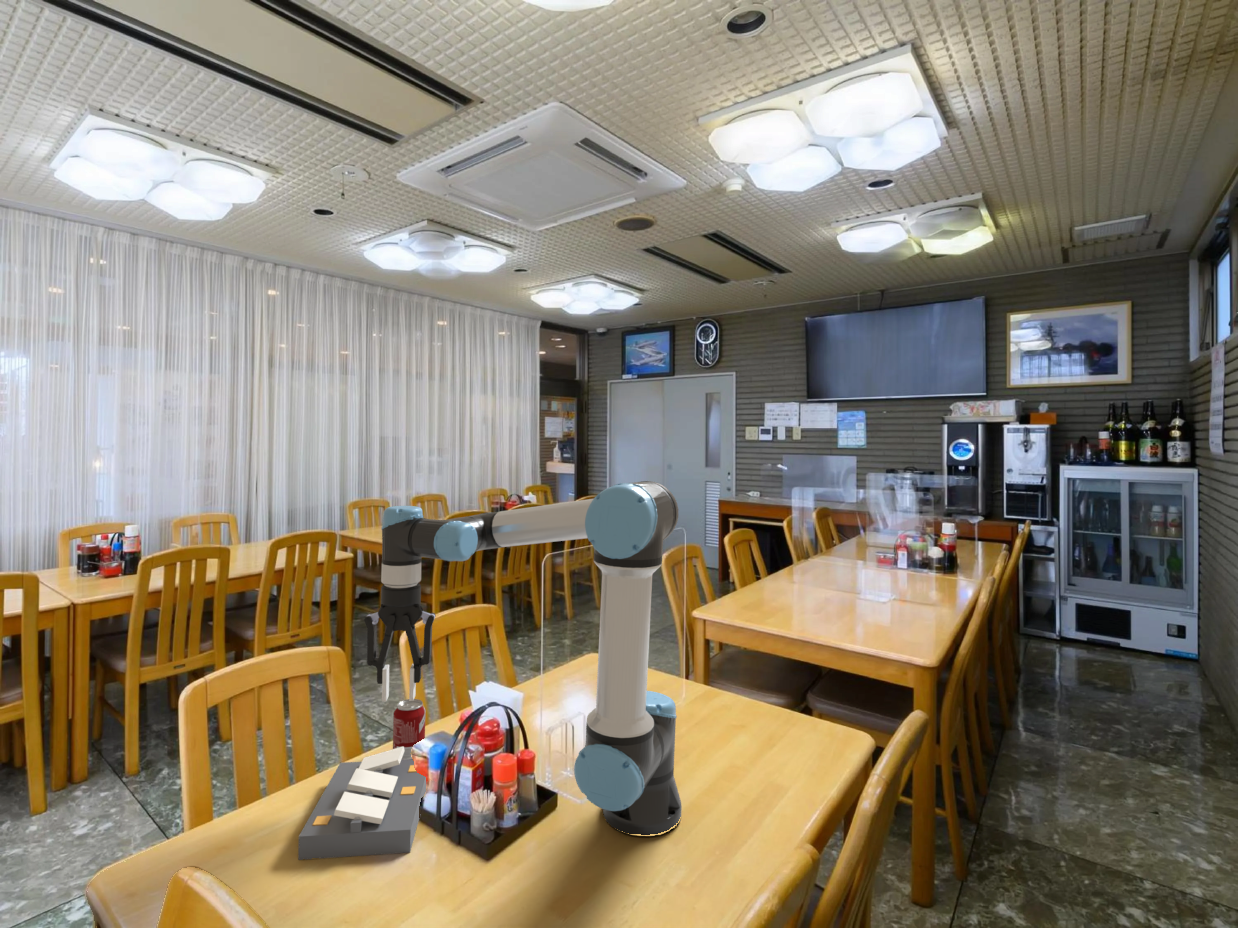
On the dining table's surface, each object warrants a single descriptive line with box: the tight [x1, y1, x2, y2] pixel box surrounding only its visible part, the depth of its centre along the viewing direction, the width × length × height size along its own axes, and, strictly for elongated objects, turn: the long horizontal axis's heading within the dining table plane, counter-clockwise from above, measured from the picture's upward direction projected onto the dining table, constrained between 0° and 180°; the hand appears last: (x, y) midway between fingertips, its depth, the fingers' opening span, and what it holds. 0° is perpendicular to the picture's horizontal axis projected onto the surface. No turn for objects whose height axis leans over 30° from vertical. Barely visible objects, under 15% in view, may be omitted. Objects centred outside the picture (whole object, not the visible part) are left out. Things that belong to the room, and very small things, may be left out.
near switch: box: [334, 792, 389, 824], centre depth 109 cm, size 8×6×2 cm
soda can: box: [392, 698, 427, 760], centre depth 138 cm, size 7×7×12 cm
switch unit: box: [297, 759, 427, 861], centre depth 117 cm, size 18×24×6 cm
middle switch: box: [347, 768, 398, 798], centre depth 117 cm, size 8×6×2 cm
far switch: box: [359, 746, 405, 772], centre depth 124 cm, size 8×6×2 cm
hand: (398, 698), depth 125 cm, fingers open, 4 cm apart
